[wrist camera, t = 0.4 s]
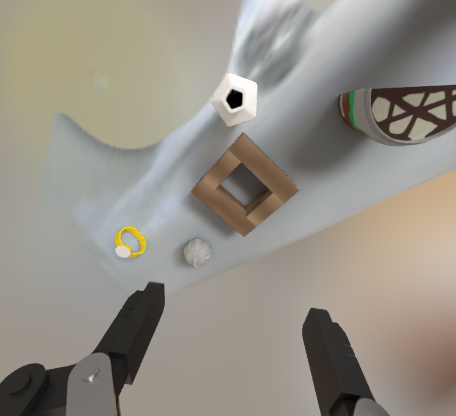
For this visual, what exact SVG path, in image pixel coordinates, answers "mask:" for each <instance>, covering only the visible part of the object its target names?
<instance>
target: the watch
mask: <svg viewBox="0 0 456 416" xmlns="http://www.w3.org/2000/svg"><path fill="white" fill-rule="evenodd" d="M123 231H128V232H131V233H132V234H133V235H134V236H135V237H136V238H137V239H138V240H139V241H140V245H141V248H140V252H138V253H134V252H132V249H131V248H130V246H128V245H127V244H123V243H122V241H121V233H122V232H123ZM115 244H116V249H115V252H116V254H117V255H118V256H120V257H122V258H127V257H137V256H139V255H140V254H142V253H143V252H144V251H145V249H146V241H145V237H143V236H142V235H141V234H140V233H139V232H138V231H137V230H136V229H135V228H133V227H129V226H128V227H124V228H122V229H121V230H120V231H118V233H117V234H116V235H115Z"/></svg>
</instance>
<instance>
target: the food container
mask: <svg viewBox="0 0 456 416" xmlns="http://www.w3.org/2000/svg"><path fill="white" fill-rule="evenodd" d="M338 106H339V111H340V115H341V117H342V118H343V120H344V122H345V123H346V124H347V125H349V126H350V127H351V128H353V129H356V130H359V131H362V132H365V133H366V134H367V135H368V136H369V137H370V138H371V139H373V140H374V141H376V142H378V143H381V144H384V145H389V146H406V145H415V144H420V143H424V142H428V141H430V140H433V139H436V138H438V137H441V136H443V135H445V134H447V133H449V132H451V131H452V130H454V129H455V128H456V85H443V86H422V87H403V88H383V89H372V87H368V88H361V89H356V90H355V91H353V92H349V93H345V94H341V95H339V101H338Z"/></svg>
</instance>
